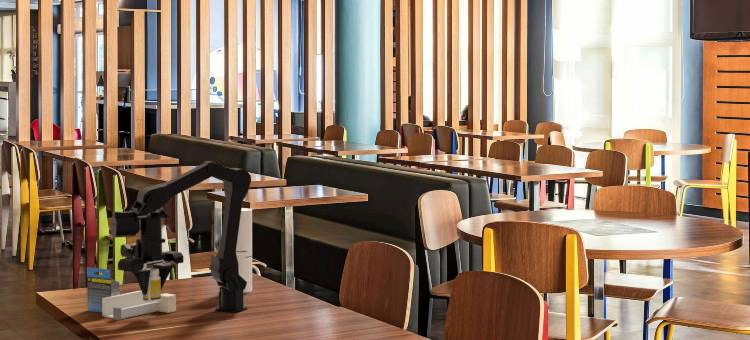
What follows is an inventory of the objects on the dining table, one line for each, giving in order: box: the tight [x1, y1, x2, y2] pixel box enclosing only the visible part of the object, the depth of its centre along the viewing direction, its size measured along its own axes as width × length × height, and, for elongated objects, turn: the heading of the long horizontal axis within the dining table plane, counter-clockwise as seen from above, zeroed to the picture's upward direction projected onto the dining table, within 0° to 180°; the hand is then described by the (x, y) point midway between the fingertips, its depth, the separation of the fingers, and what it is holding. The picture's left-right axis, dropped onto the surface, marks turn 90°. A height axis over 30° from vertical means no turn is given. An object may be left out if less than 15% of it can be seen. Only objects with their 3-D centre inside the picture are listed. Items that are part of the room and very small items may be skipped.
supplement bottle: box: [143, 267, 162, 302], centre depth 283 cm, size 5×5×8 cm
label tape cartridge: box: [86, 266, 121, 313], centre depth 291 cm, size 9×4×12 cm, turn 62°
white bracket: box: [101, 290, 177, 321], centre depth 289 cm, size 10×19×5 cm, turn 145°
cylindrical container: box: [236, 207, 253, 294], centre depth 322 cm, size 7×7×25 cm
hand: (151, 293), depth 283 cm, fingers closed on supplement bottle, 5 cm apart
